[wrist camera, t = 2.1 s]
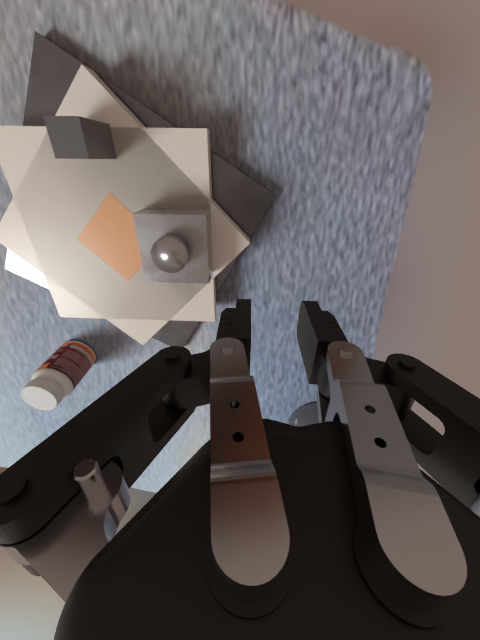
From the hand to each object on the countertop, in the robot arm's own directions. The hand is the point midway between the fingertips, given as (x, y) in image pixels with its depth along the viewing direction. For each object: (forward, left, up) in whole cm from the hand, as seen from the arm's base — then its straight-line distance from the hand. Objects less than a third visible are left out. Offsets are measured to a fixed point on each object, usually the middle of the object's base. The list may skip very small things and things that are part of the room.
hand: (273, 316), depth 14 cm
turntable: (+12, +7, -16) cm, 21 cm away
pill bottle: (+13, +27, -17) cm, 35 cm away
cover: (+7, +4, -14) cm, 16 cm away
